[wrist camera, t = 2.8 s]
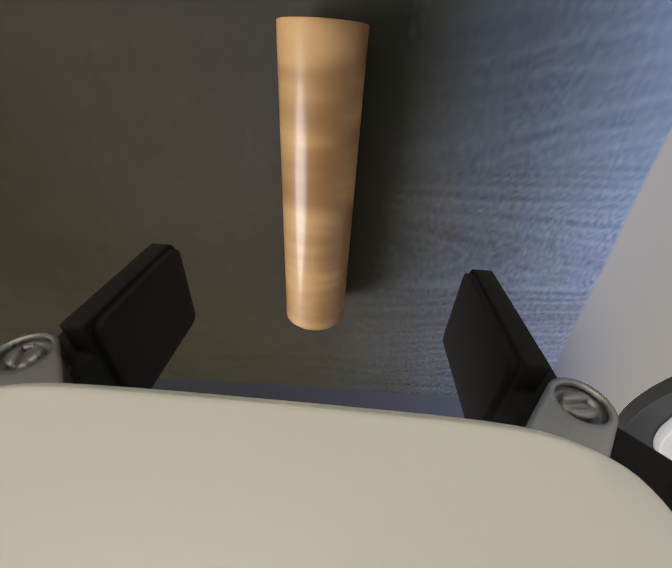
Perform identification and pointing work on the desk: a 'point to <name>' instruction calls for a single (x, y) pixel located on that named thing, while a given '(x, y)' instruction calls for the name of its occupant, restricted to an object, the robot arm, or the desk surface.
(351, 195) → the wooden cylinder
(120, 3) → the desk surface
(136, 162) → the desk surface
